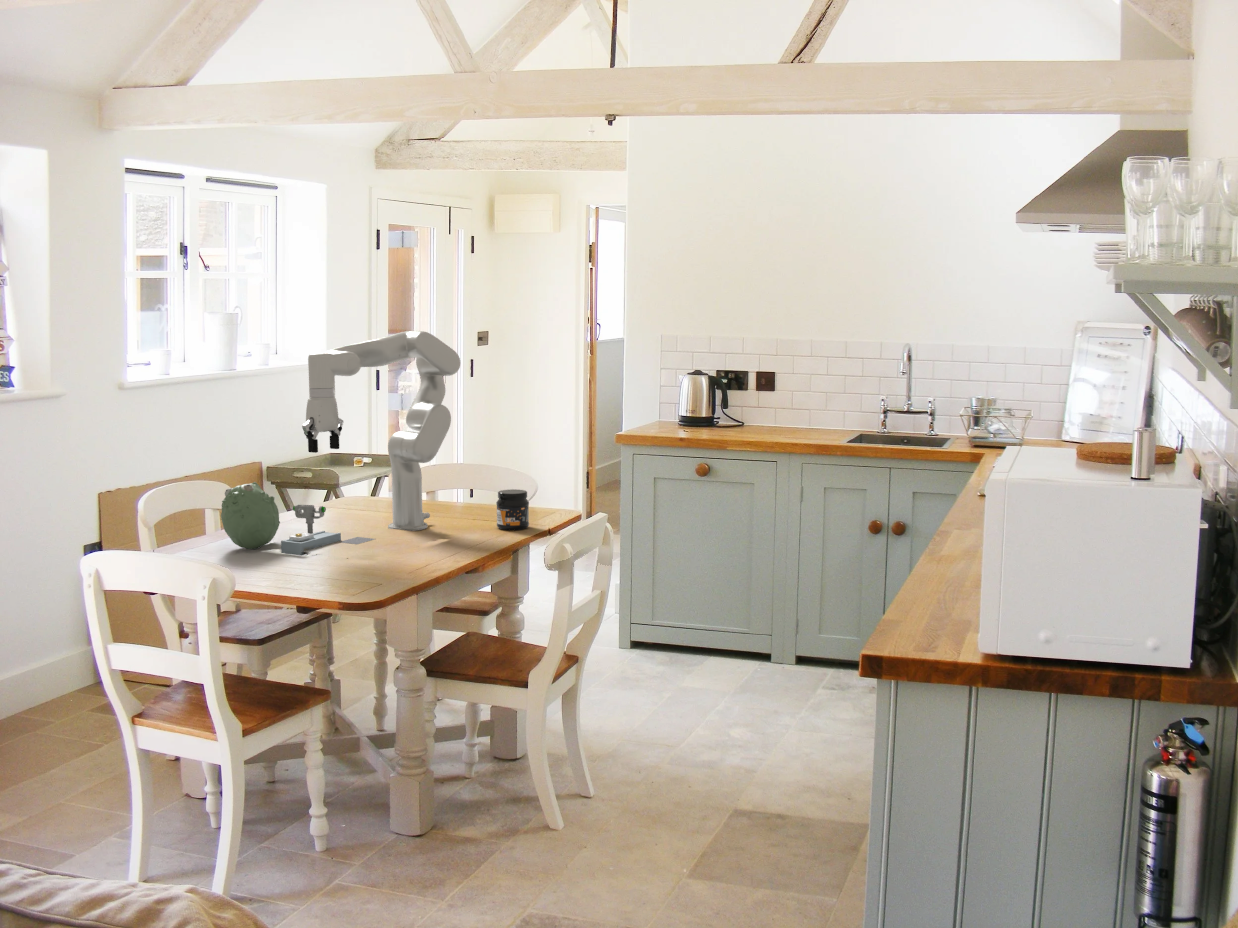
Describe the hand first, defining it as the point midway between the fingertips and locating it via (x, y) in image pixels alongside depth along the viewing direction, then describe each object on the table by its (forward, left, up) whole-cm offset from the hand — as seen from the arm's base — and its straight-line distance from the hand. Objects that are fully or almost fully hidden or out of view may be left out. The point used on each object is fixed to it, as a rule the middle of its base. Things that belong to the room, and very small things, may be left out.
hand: (324, 450), depth 361 cm
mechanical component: (-4, -10, -28) cm, 30 cm away
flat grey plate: (-2, +10, -28) cm, 30 cm away
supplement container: (-46, +38, -28) cm, 66 cm away
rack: (+9, +2, -28) cm, 30 cm away
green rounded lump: (+17, -14, -28) cm, 36 cm away
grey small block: (+13, +2, -26) cm, 30 cm away
